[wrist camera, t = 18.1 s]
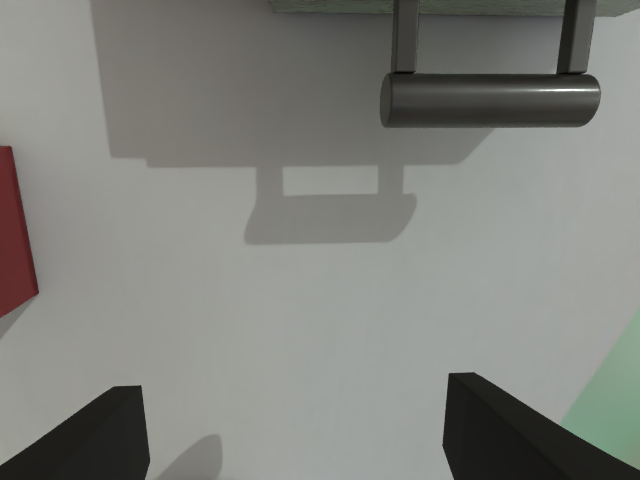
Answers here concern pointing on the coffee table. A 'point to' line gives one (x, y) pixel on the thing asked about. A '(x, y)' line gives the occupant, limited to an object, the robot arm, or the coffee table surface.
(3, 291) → the book
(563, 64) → the drawer
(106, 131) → the coffee table surface
